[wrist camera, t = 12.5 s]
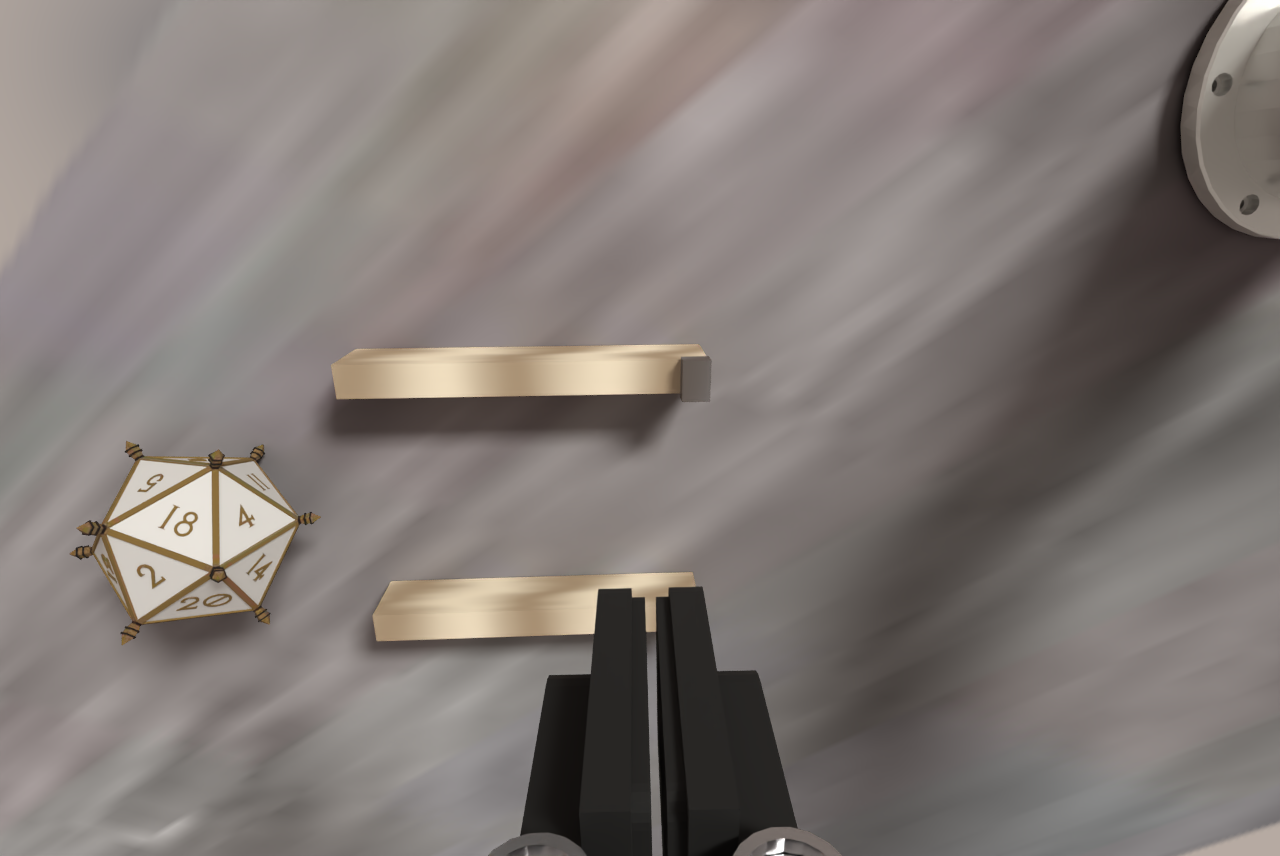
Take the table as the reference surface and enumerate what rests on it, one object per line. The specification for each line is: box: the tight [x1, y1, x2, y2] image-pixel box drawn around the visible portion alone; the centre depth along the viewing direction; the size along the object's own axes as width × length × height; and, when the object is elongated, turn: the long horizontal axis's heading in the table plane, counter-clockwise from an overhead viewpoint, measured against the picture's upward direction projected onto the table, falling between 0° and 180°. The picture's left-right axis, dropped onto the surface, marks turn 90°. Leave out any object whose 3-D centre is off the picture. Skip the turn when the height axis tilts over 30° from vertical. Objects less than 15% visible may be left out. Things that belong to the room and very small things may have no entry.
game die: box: [70, 441, 320, 645], centre depth 29 cm, size 9×8×10 cm
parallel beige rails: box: [331, 344, 711, 641], centre depth 32 cm, size 16×14×4 cm
